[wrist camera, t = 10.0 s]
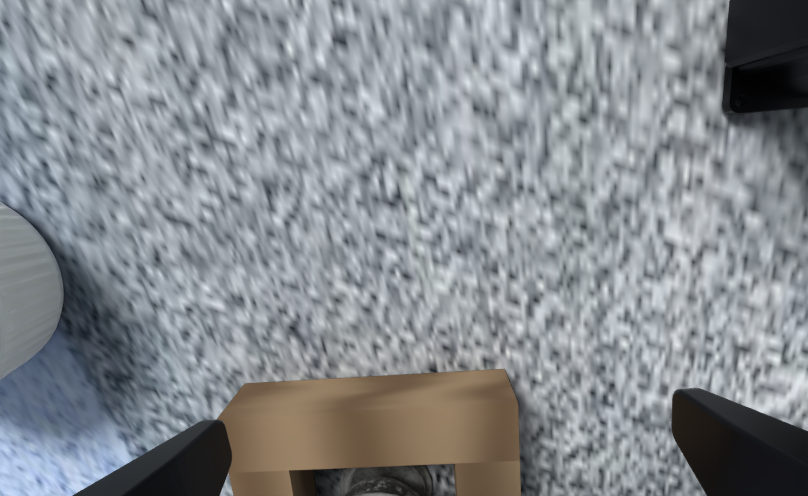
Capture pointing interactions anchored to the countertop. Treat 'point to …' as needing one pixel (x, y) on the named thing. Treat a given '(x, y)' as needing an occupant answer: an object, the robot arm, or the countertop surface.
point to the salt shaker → (386, 481)
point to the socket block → (375, 430)
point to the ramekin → (26, 291)
